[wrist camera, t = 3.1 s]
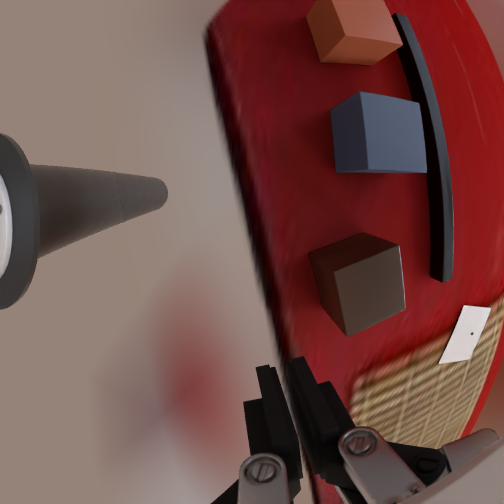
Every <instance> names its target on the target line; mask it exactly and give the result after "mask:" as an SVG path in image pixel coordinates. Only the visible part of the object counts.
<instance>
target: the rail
mask: <svg viewBox="0 0 504 504" xmlns="http://www.w3.org/2000/svg"><path fill="white" fill-rule="evenodd" d="M391 17H392V19H393V22H394V24H395V26H396V29H397V31H398V33H399V36H400V38H401V41H402V43H403V45H402V46H401V47H399V48H397V51H398V53H399V56H400V59H401V62H402V65H403V68H404V71H405V74H406V78H407V81H408V84H409V88H410V92H411V95H412V99H413V102H417V103H419V106H420V112H421V118H422V125H423V133H424V142H425V153H426V166H427V173H426V174H427V183H428V193H429V206H430V226H431V266H430V277H432V278H434V279H436V280H438V281H440V282H442V283H443V282H446V281H448V280H451V279H452V271H453V250H454V218H453V197H452V184H451V174H450V166H449V158H448V151H447V145H446V139H445V134H444V129H443V124H442V119H441V114H440V110H439V106H438V102H437V98H436V94H435V91H434V87H433V84H432V81H431V77H430V74H429V71H428V68H427V65H426V62H425V59H424V56H423V54H422V51H421V48H420V46H419V43H418V41H417V38H416V36H415V34H414V31H413V29H412V27H411V24H410V22H409V20H408V18H407V16H405V15H401V14H398V13H395V14H393V15H392V16H391Z"/></svg>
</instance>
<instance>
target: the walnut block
mask: <svg viewBox="0 0 504 504" xmlns="http://www.w3.org/2000/svg"><path fill="white" fill-rule="evenodd" d="M309 257H310V260H311V264H312V268H313V272H314V275H315V279H316V283H317V287H318V291H319V295H320V299H321V303H322V307H323V309H324V310H325V311H326V312H327V314H328V315H329V316H330V317H331V319H332V320H333V321H334V322H335V323H336V325H337V326H338V327H339V328H340V329H341V331H342V332H343V333H344V334H345V336H346V337H349V336H351V335H353V334H356V333H358V332H360V331H362V330H364V329H366V328H368V327H371V326H373V325H375V324H377V323H379V322H381V321H383V320H385V319H387V318H389V317H391V316H393V315H395V314H397V313H399V312H401V311H403V310H404V309H405V294H404V282H403V273H402V264H401V256H400V249H399V245H398V244H395V243H392V242H389V241H387V240H384V239H381V238H378V237H376V236H373V235H370V234H367V233H364V232H363V233H360V234H358V235H355V236H352V237H350V238H347V239H344V240H342V241H339V242H336V243H334V244H331V245H328V246H325V247H323V248H320V249H317V250H314V251H312V252H309Z"/></svg>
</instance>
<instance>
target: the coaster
mask: <svg viewBox="0 0 504 504" xmlns="http://www.w3.org/2000/svg"><path fill="white" fill-rule="evenodd" d="M490 310H491V308H485V307H475V306H466V305H464V306H463V309H462V312H461V314H460V317H459V319H458V322H457V324H456V327H455V329H454V332H453V334H452V336H451V338H450V341H449V343H448V345H447V347H446V349H445V351H444V354H443V356H442V358H441V360H440V362H439V364H441V363H449V362H456V361H462V360H468V359H469V358H470V356H471V354H472V352H473V350H474V348H475V346H476V344H477V342H478V339H479V337H480V335H481V332H482V330H483V328H484V325H485V323H486V320H487V318H488V315H489V313H490Z"/></svg>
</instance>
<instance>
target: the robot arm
mask: <svg viewBox="0 0 504 504" xmlns="http://www.w3.org/2000/svg"><path fill="white" fill-rule="evenodd" d="M11 246H12V214H11V207H10V201H9V196H8V192H7V189H6V186H5V183H4V180H3V178H2V176H1V175H0V278H1V276H2V275H3V274H4V272H5V270H6V267H7V265H8V262H9V258H10V254H11ZM256 371H257V376H258V381H259V385H260V390H261V394H262V398H260V399H255V400H251V401H244V402H243V404H244V412H245V419H246V426H247V433H248V440H249V447H250V454H251V457H249V458H247V459H246V460H245V461H244V462H243V463H242V465H241V466H240V470H239V479H238V480H237V481H236V482H235V483H234V484H233V485H232V486H230V487H229V488H228V489H227V490H226V491H225V492H224V493H223V494H222V495H221V496H219V497H218V498H217V499H216V500H215V501H214V502H212V503H211V504H294V502H293V499H294V498H295V496H296V495H297V494H298V493H299V491H300V490H301V486H300V479H301V478H303V473H302V464H301V456H300V448H299V441H298V437H297V433H296V430H295V427H294V424H293V421H292V418H291V415H290V412H289V409H288V406H287V402H286V399H285V396H284V393H283V390H282V387H281V384H280V381H279V377H278V374H277V371H276V368H275V367H271V368H270V366H269V365H264V366H259V367H256ZM286 372H287V378H288V385H289V392H290V399H291V406H292V411H293V414H294V417H295V420H296V423H297V426H298V429H299V432H300V435H301V438H302V441H303V444H304V447H305V450H306V453H307V456H308V458H309V461H310V464H311V467H312V470H313V473H314V475H316V474H320V477H321V480H322V479H325V481H326V483H329V484H332V485H335V488H336V490H337V491H338V493H339V495H340V496H341V498H342V499H343V501H344V503H345V504H504V437H502V438H499V436H498V434H497V433H496V432H495V431H494V430H492V429H490V428H484V429H480V430H478V431H476V432H474V433H472V434H470V435H467V436H465V437H463V438H460V439H458V440H455V441H453V442H450V443H448V444H445V445H443V446H442V447H441V448H439V449H437V450H436V449H432V448H425V447H417V446H410V445H404V444H398V443H392V442H387V441H385V439H384V438H383V437H382V436H381V435H380V434H379V433H378V432H377V431H376V430H375V429H373V428H370V427H365V426H360V427H356V426H355V424H354V423H353V421H352V419H351V417H350V415H349V414H348V412H347V410H346V408H345V407H344V405H343V403H342V401H341V399H340V398H339V396H338V394H337V392H336V390H335V389H334V387H333V385H332V384H331V382H330V381H327V382H324V383H320V384H317V382H316V380H315V378H314V376H313V374H312V372H311V370H310V368H309V366H308V364H307V362H306V360H305V358H304V356H302V357H298V358H294V359H290V363H288V364H286Z"/></svg>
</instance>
